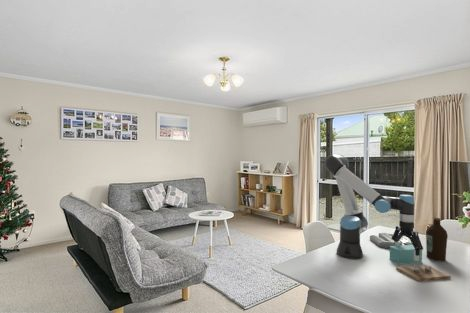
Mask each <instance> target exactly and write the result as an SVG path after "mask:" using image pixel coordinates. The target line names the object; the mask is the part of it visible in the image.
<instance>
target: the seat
mask: <svg viewBox="0 0 470 313" xmlns="http://www.w3.org/2000/svg"><path fill="white" fill-rule="evenodd" d="M395 270H396V271H397V272H400V273H402V274H403V275H404V276H407V277H409V278H411V279H412V280H414V281H416V282H430V281H441V280H449V279H451V278H452V275H451V274H449V273H446V272H443V271H442V270H440V269H437V268H435V267H432V266H431V265H429V264H418V265H417V264H416V265H405V266H396V267H395Z"/></svg>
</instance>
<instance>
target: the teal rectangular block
mask: <svg viewBox="0 0 470 313" xmlns="http://www.w3.org/2000/svg"><path fill="white" fill-rule="evenodd" d="M414 249H415V248H414V246H413V245H400V246H390V249H389V260H391V261H392V262H394V263H396V264H398V265H402V264H416V263H418V264H419V263H423V250H420V255H419V261H414Z"/></svg>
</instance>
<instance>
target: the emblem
mask: <svg viewBox="0 0 470 313" xmlns="http://www.w3.org/2000/svg"><path fill="white" fill-rule="evenodd" d="M393 234H394V233H387V232H382V233H381V232H379V233H378V236H377V235H375V234H374V235H373V234H371V235H369V240H370V241H371V242H373V243H374V244H375V245H376V246H378V247H380V248H384V249H388V250H390V246H394V240H392V236H393ZM398 242H400V245H413V244H412V243H411V241H410V240H408V239H406V237H404V236H403V237H402V238H401V239H400V240H399V241H398Z"/></svg>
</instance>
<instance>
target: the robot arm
mask: <svg viewBox="0 0 470 313" xmlns="http://www.w3.org/2000/svg"><path fill="white" fill-rule="evenodd" d="M323 165H324V168H325V169H326V170H327V172H329V173H330V174H331V176H332V177H334V178H335V182H336V184H337V188H338V191H339V194H340V198H341V200H342V204H343V208H344V211H345V213H344V214H343V215H344V216H342V217H341V218H340V220H339V221H340V222H339V243H338V246H337V247H336V248H337V249H336V254H337V255H338V256H339V257H342V258H345V259H349V260H359V259H360V260H361V259H362V258H363V256H364V252H363V248H362V247H361V246H362V245H361V234H362V233H364V232H365V231H366V230H367V228H368V227H369V226H368V225H369V221H368V220H367V218H366V216H364V213H363V211H362V210H360V208H359V205H358V201H357V199H356V195H355V192H356V193H357V194H359V195H360V196H361V197H362V198H363V199H364V200H365V201H367V202H369V204H371V205H372V206H373V207H374V208H375V210H376V211H377V212H379V213H381V214H385V213H387V212H389V211H390V210H395V211H399V212H398V213H399V214H398V215H399V218H398V219H399V225H398V226H397V225H396V226H395V230H394V232H393V233H392V234H393V236H392V240H394V246H400V242H398V241H399V240H400V239H401V238H402V237H403V238H404V237H405V238H408V239H409V241H410V242H411V243H412V244H413V246H414V248H415V249H414V261H419V255H420V250H422V251H423V250H424V247H423V245H422V242H421V239H420V236H419V232H418V231H414V228H415V222H414V221H415V204H416V203H415V197H414V195H411V194H400V195H399V197H394V196H386V195H381V194H380V193H379V192H377V190H375V189H374V188H372V187H371V186H370V185H369V184H367V183H366V182H365V181H364V180H362V179H361V178H359V176H357V175H356V174H355V173H353V172H352V171H350V168H349V166H350V162H349V160H348V158H347V157H346V156H344V155H342V154H331V155H328V156H327V157H326V158H325V160H324V164H323ZM354 191H355V192H354Z"/></svg>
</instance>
